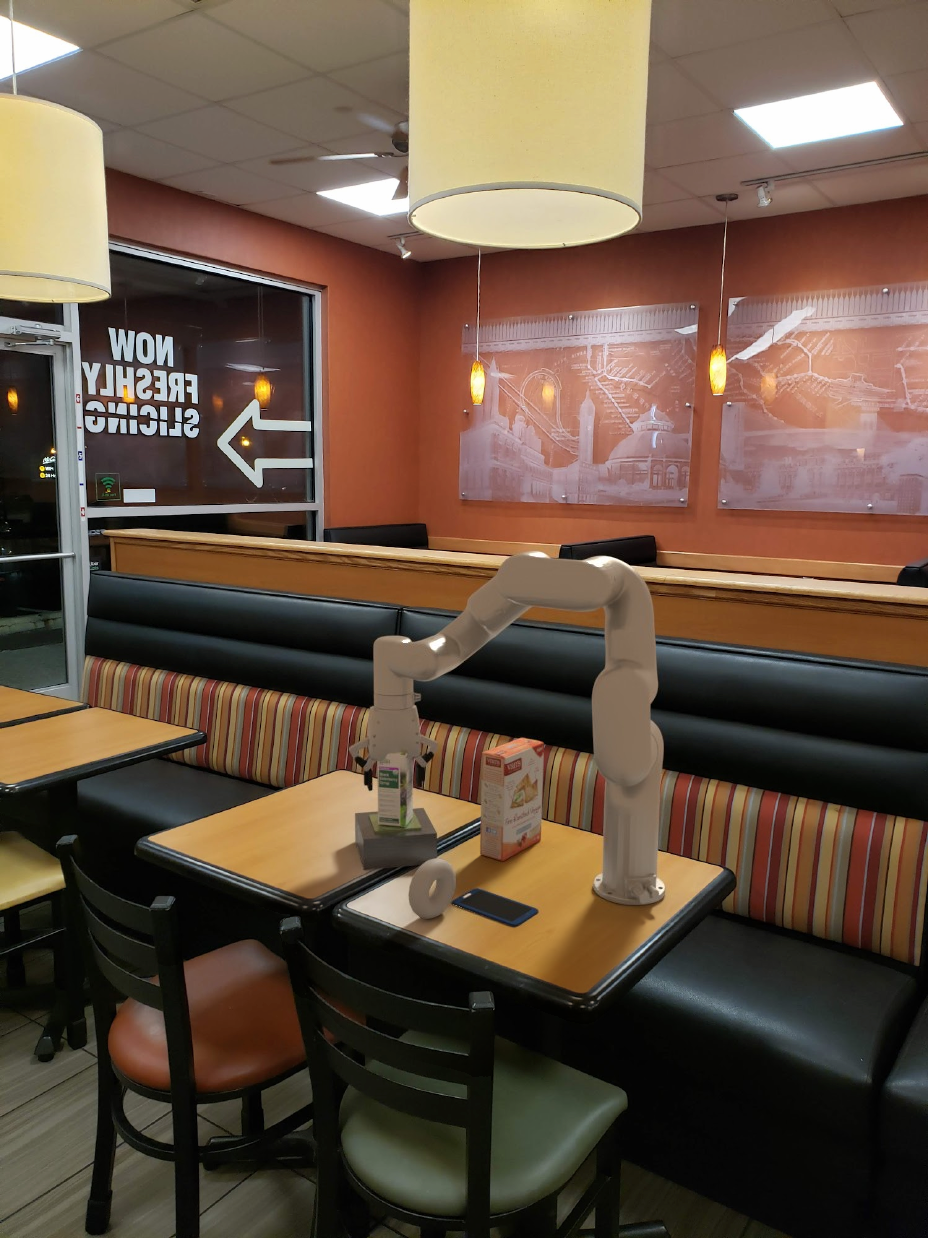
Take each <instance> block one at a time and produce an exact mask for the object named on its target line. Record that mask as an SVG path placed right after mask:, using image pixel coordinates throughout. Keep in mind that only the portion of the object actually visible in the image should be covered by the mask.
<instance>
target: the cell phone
mask: <svg viewBox="0 0 928 1238" xmlns="http://www.w3.org/2000/svg"><path fill="white" fill-rule="evenodd" d="M453 904H454V905H453ZM451 905H453V906H455V905H457V906H456V907H459V906H460V907H462V909H463V908H464V909H463V910H465V911H466V910H467V911H468V910H470V911H469V912H471V911H472V912H471V913H474V912H475V914H477V915H480V916H482V915H483V917H485V918H487V919H491V920H493V921H496V922H499V923H502V924H504V925H506V926H510V927H514V928H515V927H516V928H517V927H519V926H521V925H522V924H524V923H525V922H527V921H528V920H530V919H532V918H534V917H535V916H536V915H538V914H539V909H538V908H536V907H534V906H531V905H529V904H526V903H523V902H519V901H516V900H514V899H510V898H509V897H505V896H502V895H498V894H497V893H493V892H490V891H488V890H485V889H481V888H478V887H476V888H473V889H470V890H469V891H466V892H465V893H463V894H462V895H459V896H458V897H456V898H454V899H452V900H451ZM460 907H459V908H460Z"/></svg>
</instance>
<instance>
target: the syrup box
mask: <svg viewBox="0 0 928 1238" xmlns="http://www.w3.org/2000/svg"><path fill="white" fill-rule="evenodd" d="M413 759H414V758H413ZM413 759H408V754H407V752H399V753H390V754H387V756H386V758H385V760H381V761H376V763H377V764H376V766H377V770H376V772H377V774H376V775H377V811H378V825H391V826H401V827H405V826H406V825H407V824H408V823H409V821H410V820H411V819H412V817H413V809H414V801H413V800H414V795H413V794H414V793H413V792H414V776H413V774H414V773H413V771H414V770H413V769H414V768H413V767H414V765H413V762H414V761H413Z"/></svg>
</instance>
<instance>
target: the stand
mask: <svg viewBox="0 0 928 1238" xmlns="http://www.w3.org/2000/svg"><path fill="white" fill-rule="evenodd" d="M354 832H355V834H354V835H355V836H354V837H355V838H354V840H355V841H354V842H355V845H356V848H357V852H358V855H359V859H360V862H361V866H362V869H363V871H366V870H368V871H369V870H370V871H371V870H378V869H390V868H399V867H411V866H421V865H422V864H423V863H425V862H426V861H428V860H431V859H435V858H438V832H437V831H436V829H435V827H434V825H433V823H432V821H431V819H430V817H429V816H428V814H427V812H426V810H425V808H424V807H415V808H413V817H412V819H411V820H410V821H409V823H408V824H407V825H406V826H405V827H401V826H391V825H378V810H377V811H368V812H367V811H366V812H355V813H354Z"/></svg>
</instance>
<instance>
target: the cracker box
mask: <svg viewBox="0 0 928 1238" xmlns="http://www.w3.org/2000/svg"><path fill="white" fill-rule="evenodd" d="M544 749H545V743H544V742H543V741H540V740H537V739H532V738H531V739H530V738H526V737H520V738H517V739H514V740H511V741H509V742H506V743H504V744H501V745H498V746H496V747H493V748H491V749H488V750H485V751H483V752H481V783H480V784H481V788H480V789H481V794H480V844H479V849H480V850H479V851H480V852H479V854H480V855H481V856H485V857H488V858H491V859H494V860H497V861H500V862H504V861H505V860H508V859H509V858H511V857H512V856H515V855H516V854H518V853H520V852H522V851H523V850H525V849H527V848H529V847H531V846H532V845H535V844H536V843H539V842H540V841H541V840H542V818H543V817H542V815H543V787H544V786H543V782H544V759H545V757H544V756H545V755H544V753H545V750H544Z"/></svg>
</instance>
